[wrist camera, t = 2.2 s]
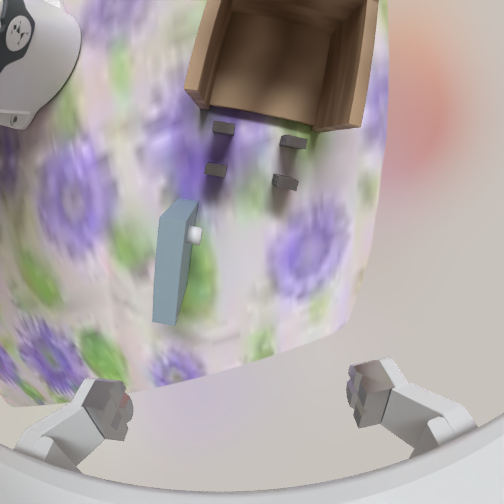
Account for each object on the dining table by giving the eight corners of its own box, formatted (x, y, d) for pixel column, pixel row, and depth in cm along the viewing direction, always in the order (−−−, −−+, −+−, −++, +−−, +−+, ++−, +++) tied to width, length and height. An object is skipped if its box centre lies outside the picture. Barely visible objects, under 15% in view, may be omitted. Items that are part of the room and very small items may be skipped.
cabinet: (188, 168, 30) (166, 179, 20) (225, 7, 24) (223, -45, 14) (307, 189, 32) (341, 211, 22) (337, 32, 26) (378, -5, 15)
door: (197, 285, 35) (187, 327, 27) (169, 280, 35) (152, 321, 26) (209, 203, 32) (201, 223, 23) (178, 198, 31) (159, 217, 23)
